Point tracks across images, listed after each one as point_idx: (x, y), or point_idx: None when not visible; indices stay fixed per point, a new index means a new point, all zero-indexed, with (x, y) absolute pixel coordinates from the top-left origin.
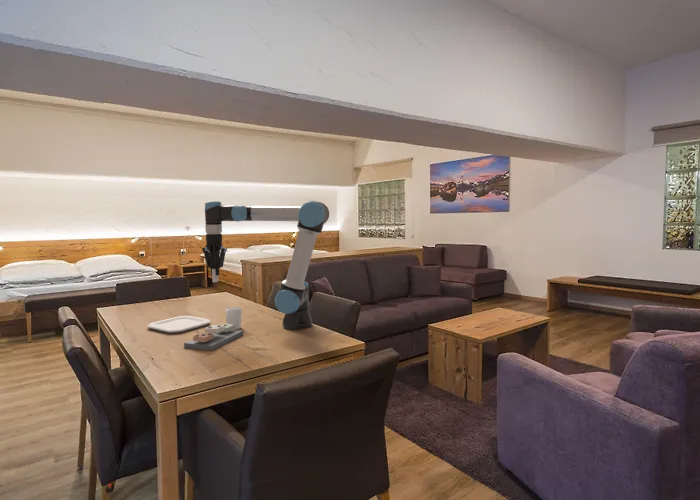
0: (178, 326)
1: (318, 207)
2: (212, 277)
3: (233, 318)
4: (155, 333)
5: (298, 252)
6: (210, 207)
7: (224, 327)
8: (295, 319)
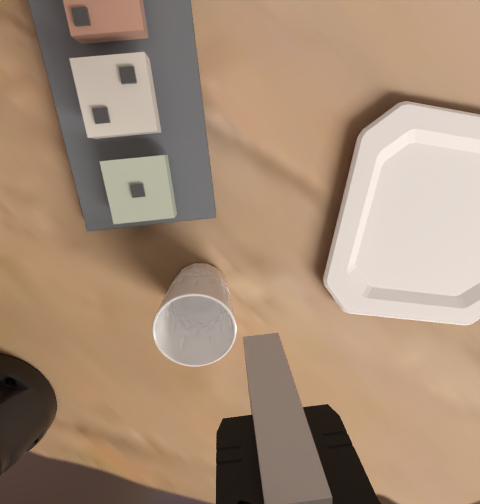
0: (418, 196)
1: None
2: (287, 370)
3: (173, 285)
4: (462, 93)
5: None
6: None
7: (116, 162)
8: None
